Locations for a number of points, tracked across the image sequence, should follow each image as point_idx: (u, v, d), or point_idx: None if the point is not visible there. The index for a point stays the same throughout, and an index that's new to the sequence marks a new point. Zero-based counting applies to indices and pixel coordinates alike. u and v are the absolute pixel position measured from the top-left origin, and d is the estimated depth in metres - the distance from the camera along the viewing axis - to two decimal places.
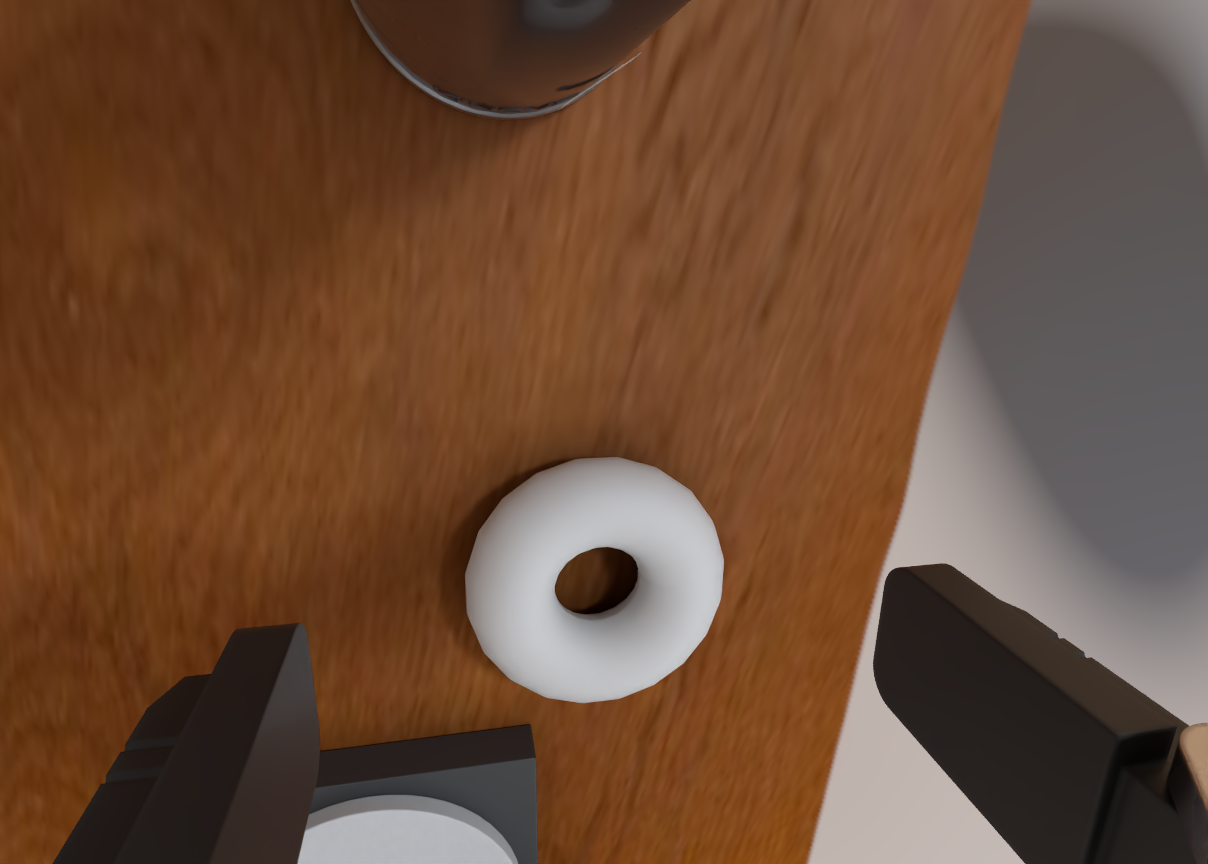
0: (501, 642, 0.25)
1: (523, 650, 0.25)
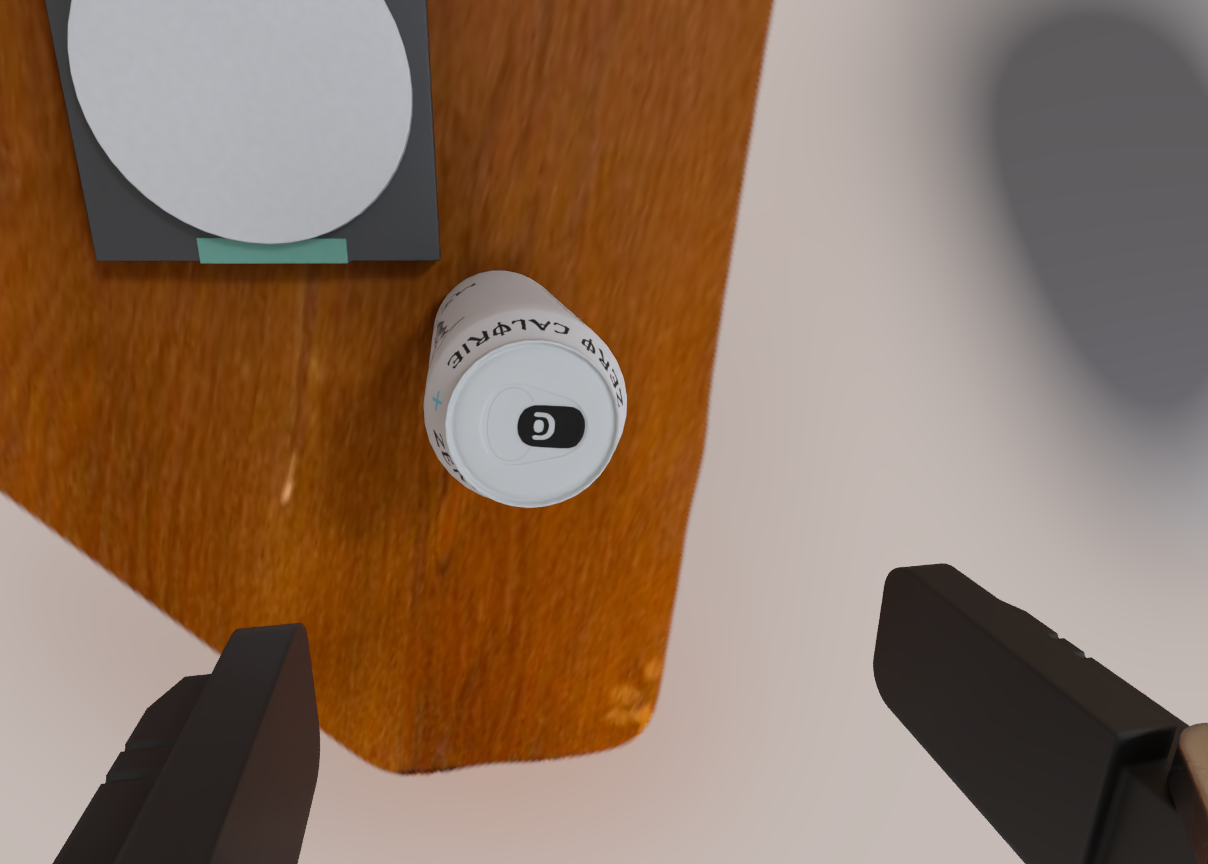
0: None
1: None
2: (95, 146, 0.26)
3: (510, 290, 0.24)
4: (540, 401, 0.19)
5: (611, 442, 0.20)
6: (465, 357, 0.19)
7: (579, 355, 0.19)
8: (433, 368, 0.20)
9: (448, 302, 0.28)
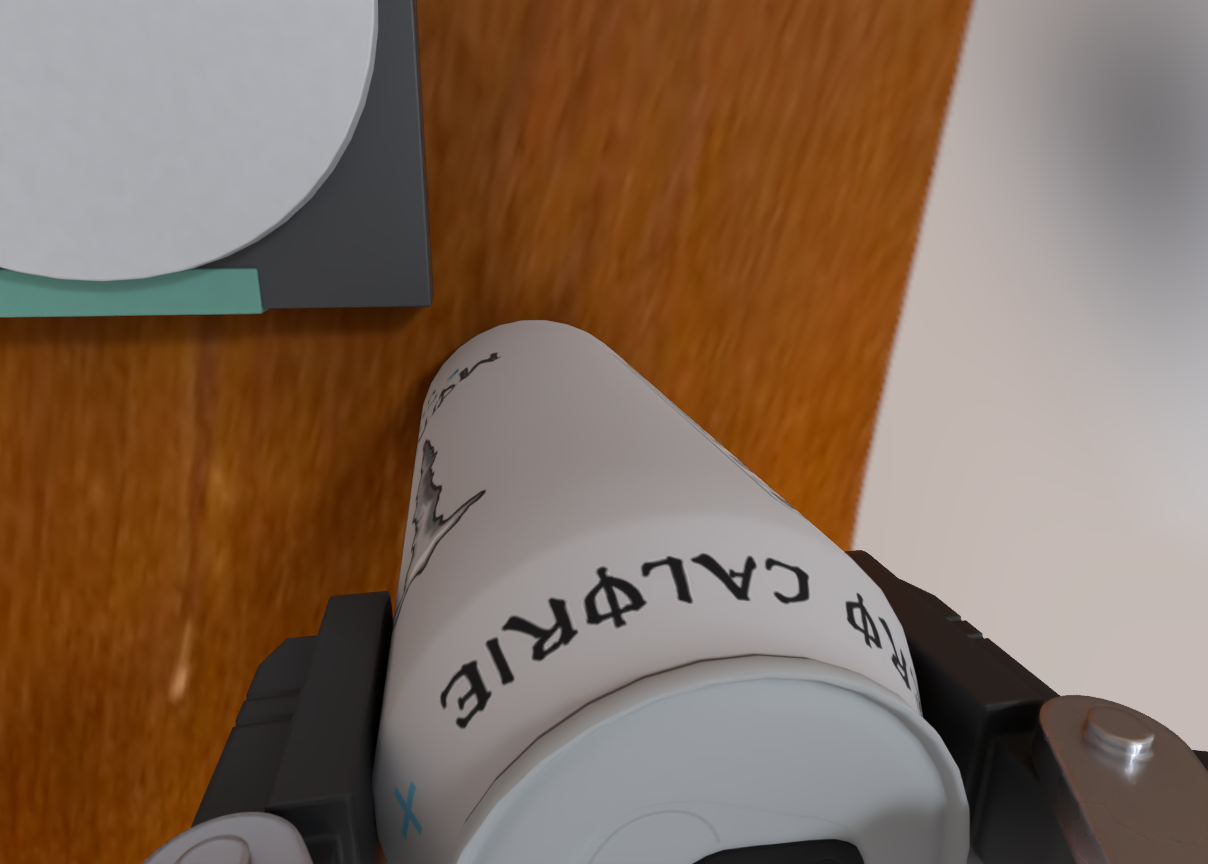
0: None
1: None
2: None
3: (583, 394, 0.11)
4: (742, 837, 0.06)
5: None
6: (498, 697, 0.06)
7: (879, 702, 0.06)
8: (398, 692, 0.07)
9: (446, 389, 0.15)
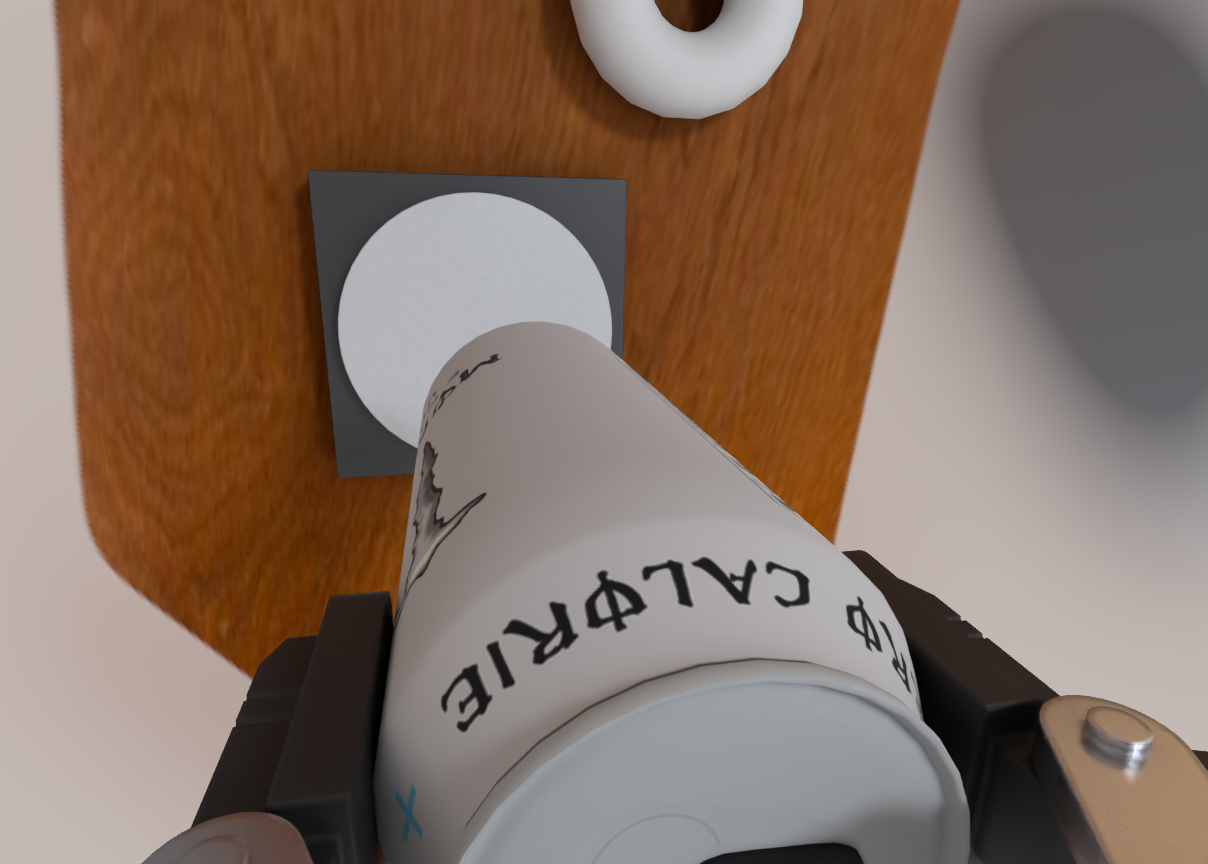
0: (606, 4, 0.27)
1: (626, 13, 0.27)
2: (346, 387, 0.31)
3: (583, 397, 0.11)
4: (744, 840, 0.06)
5: None
6: (498, 702, 0.06)
7: (878, 706, 0.06)
8: (399, 696, 0.07)
9: (446, 390, 0.15)
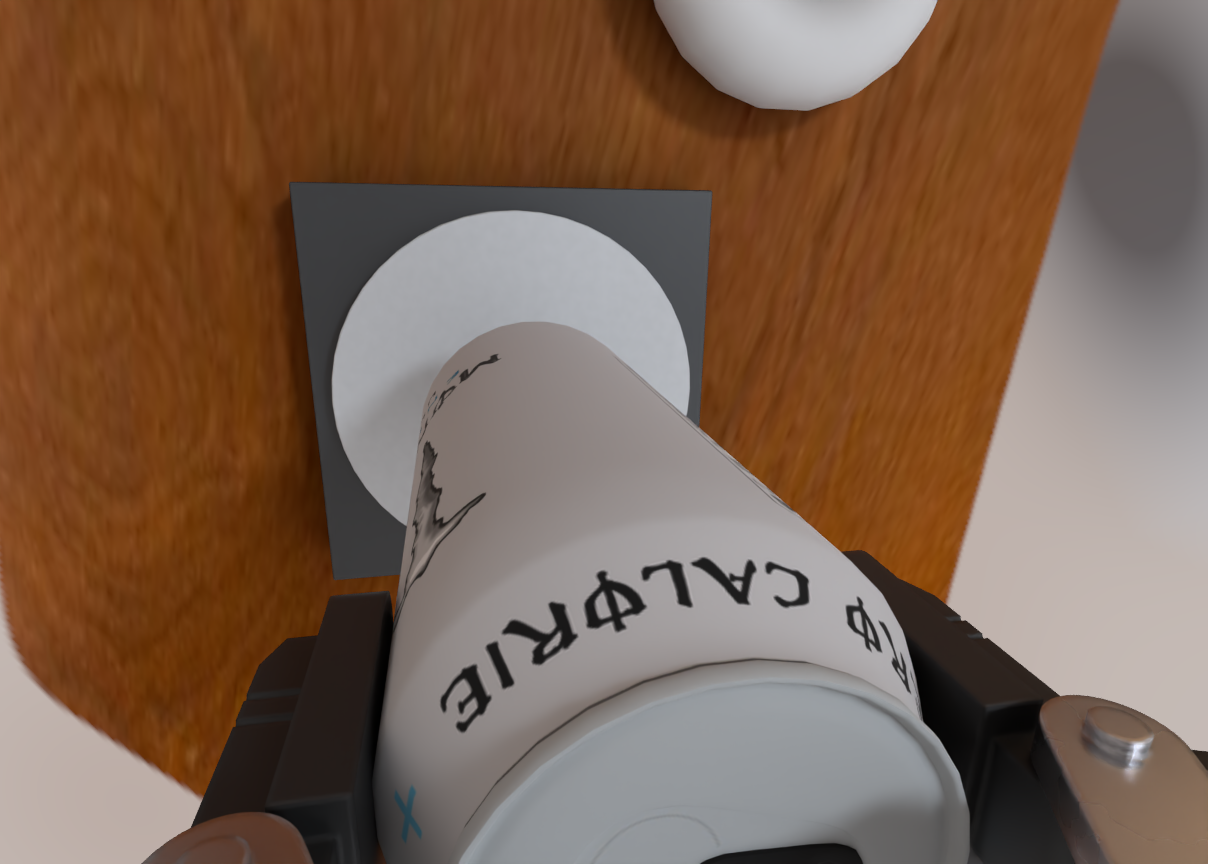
0: None
1: None
2: (344, 466, 0.23)
3: (583, 397, 0.11)
4: (741, 840, 0.06)
5: None
6: (497, 702, 0.06)
7: (877, 705, 0.06)
8: (398, 696, 0.07)
9: (446, 390, 0.15)
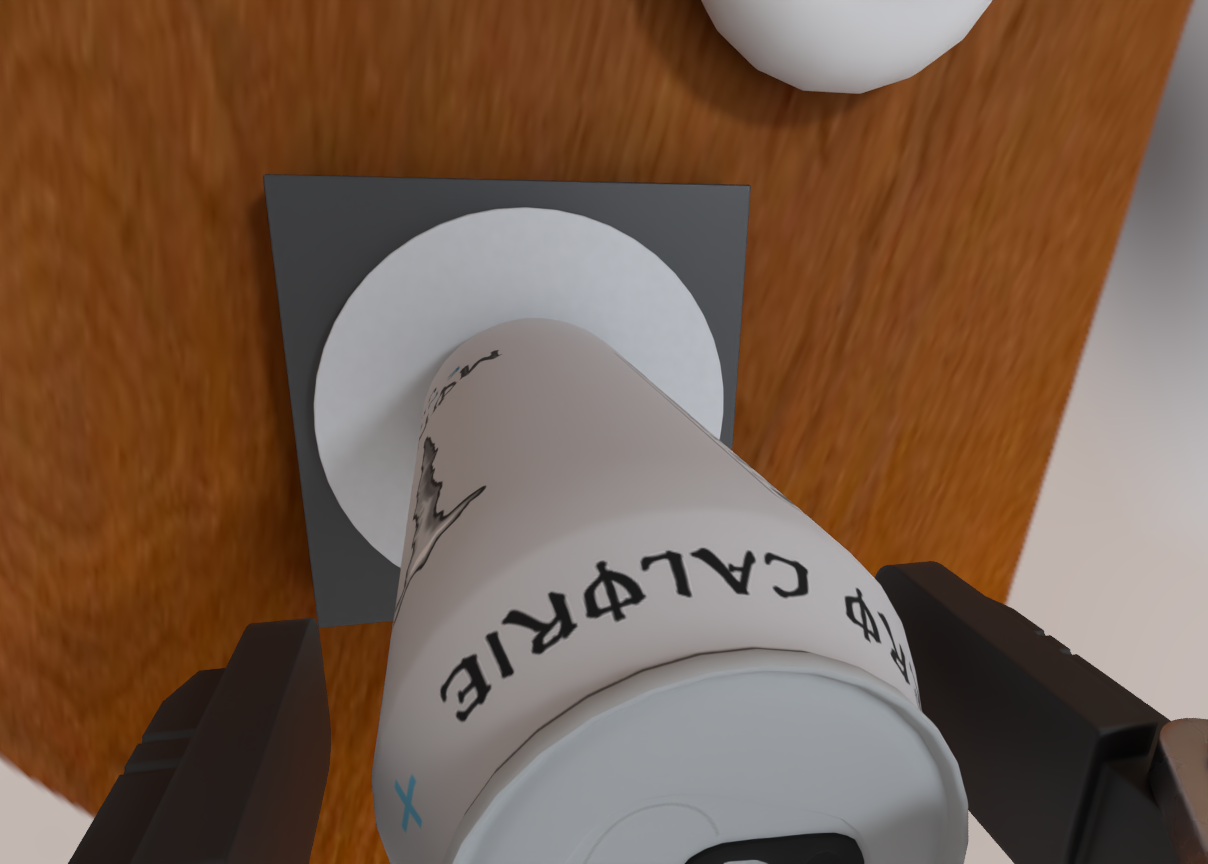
0: None
1: None
2: (329, 500, 0.20)
3: (583, 391, 0.11)
4: (742, 830, 0.06)
5: None
6: (497, 691, 0.06)
7: (878, 695, 0.06)
8: (398, 686, 0.07)
9: (447, 386, 0.15)
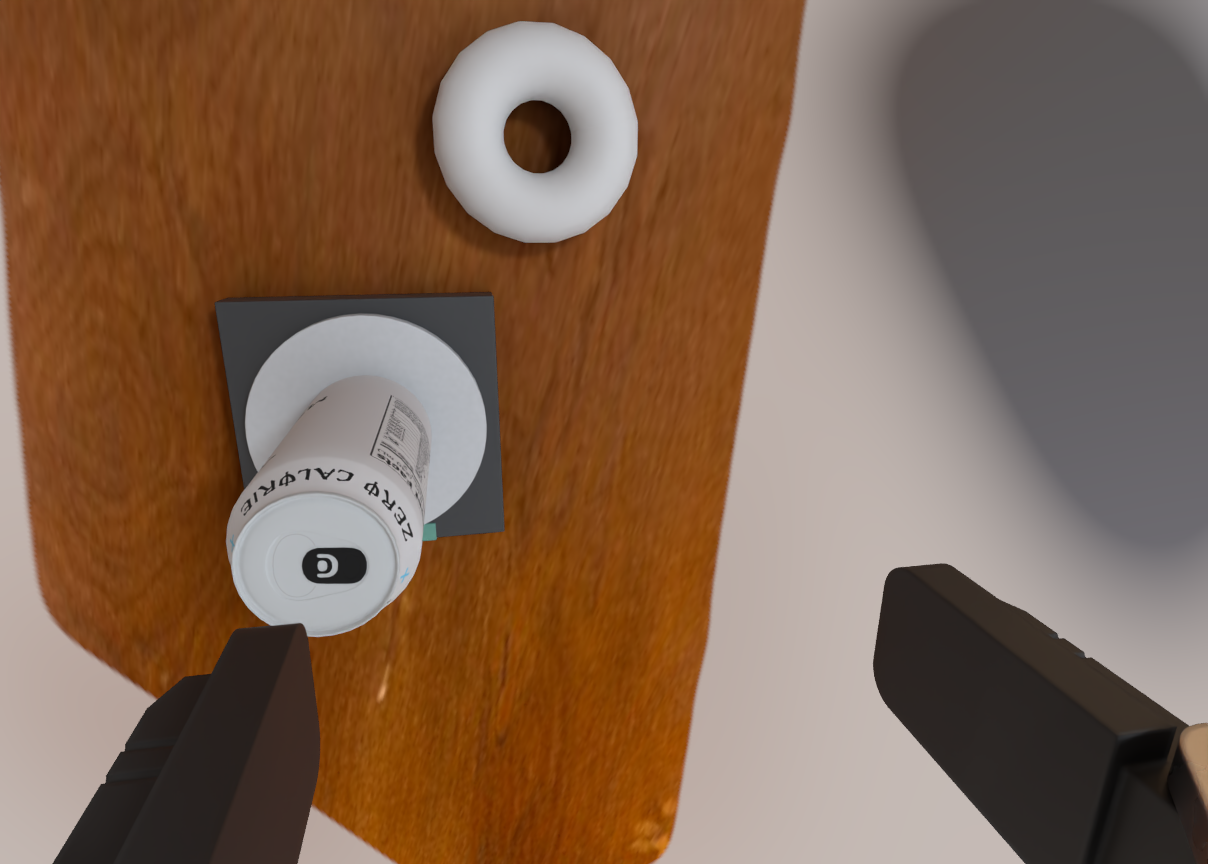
0: (460, 160, 0.33)
1: (477, 167, 0.33)
2: None
3: (334, 418, 0.26)
4: (322, 544, 0.21)
5: (394, 576, 0.22)
6: (253, 506, 0.21)
7: (354, 504, 0.21)
8: (232, 512, 0.22)
9: (302, 414, 0.31)
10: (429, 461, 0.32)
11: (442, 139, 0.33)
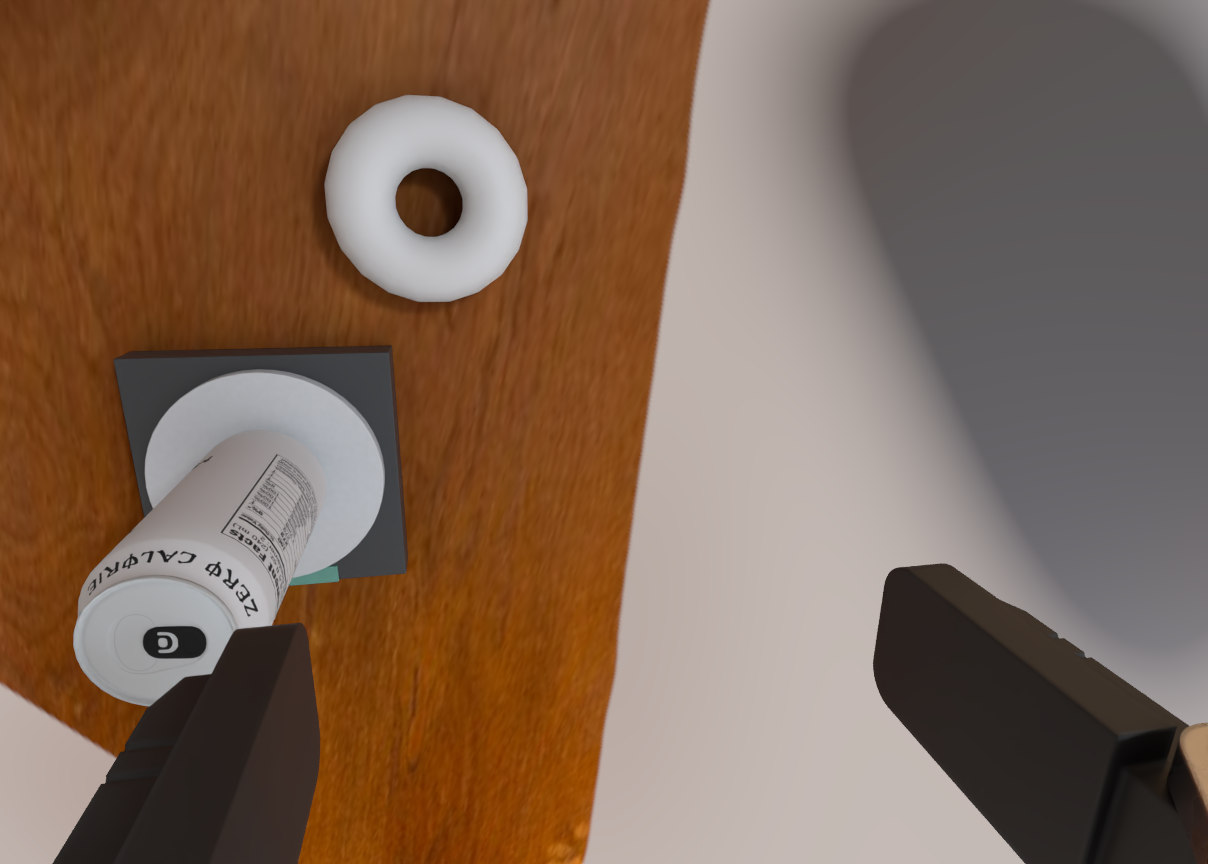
0: (349, 228, 0.34)
1: (365, 234, 0.34)
2: None
3: (202, 488, 0.28)
4: (161, 623, 0.23)
5: None
6: (97, 587, 0.23)
7: (190, 587, 0.23)
8: (82, 589, 0.24)
9: None
10: (313, 517, 0.33)
11: (332, 207, 0.34)
